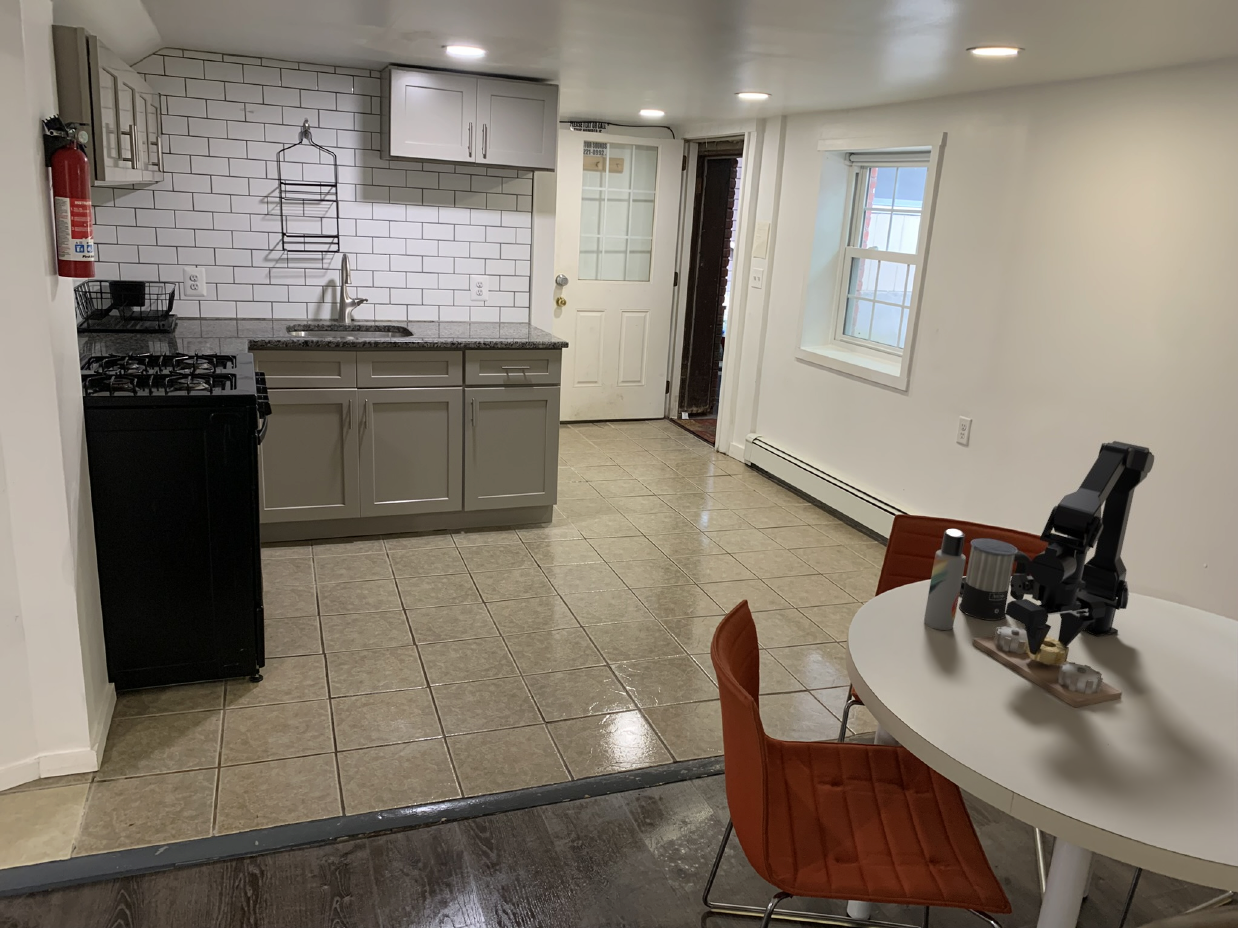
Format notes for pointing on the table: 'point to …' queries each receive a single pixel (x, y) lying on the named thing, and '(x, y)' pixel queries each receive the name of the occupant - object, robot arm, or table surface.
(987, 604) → the milk frother
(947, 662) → the table surface
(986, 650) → the gear board
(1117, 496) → the robot arm
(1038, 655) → the brass gear
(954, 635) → the table surface
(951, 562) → the lotion bottle
